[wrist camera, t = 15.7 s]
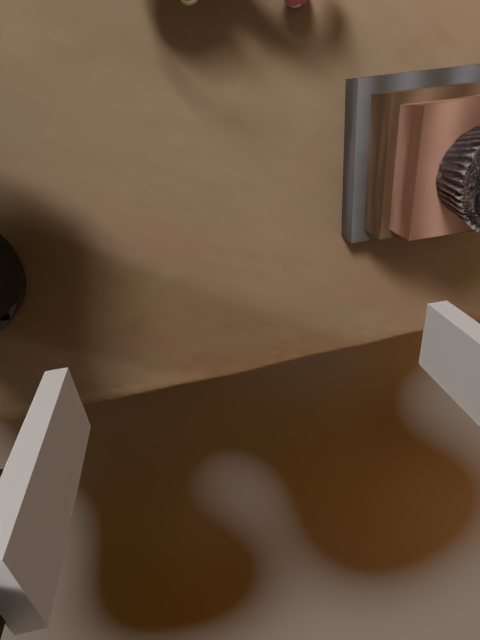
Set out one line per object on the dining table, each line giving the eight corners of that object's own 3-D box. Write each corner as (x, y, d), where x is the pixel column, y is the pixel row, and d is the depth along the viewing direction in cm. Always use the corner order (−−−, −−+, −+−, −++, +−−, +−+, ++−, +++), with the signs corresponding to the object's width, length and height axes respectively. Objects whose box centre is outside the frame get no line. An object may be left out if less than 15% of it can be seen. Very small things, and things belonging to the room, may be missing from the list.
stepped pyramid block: (341, 236, 51) (383, 268, 41) (346, 79, 42) (399, 74, 33) (466, 216, 52) (534, 243, 43) (494, 62, 44) (586, 52, 34)
